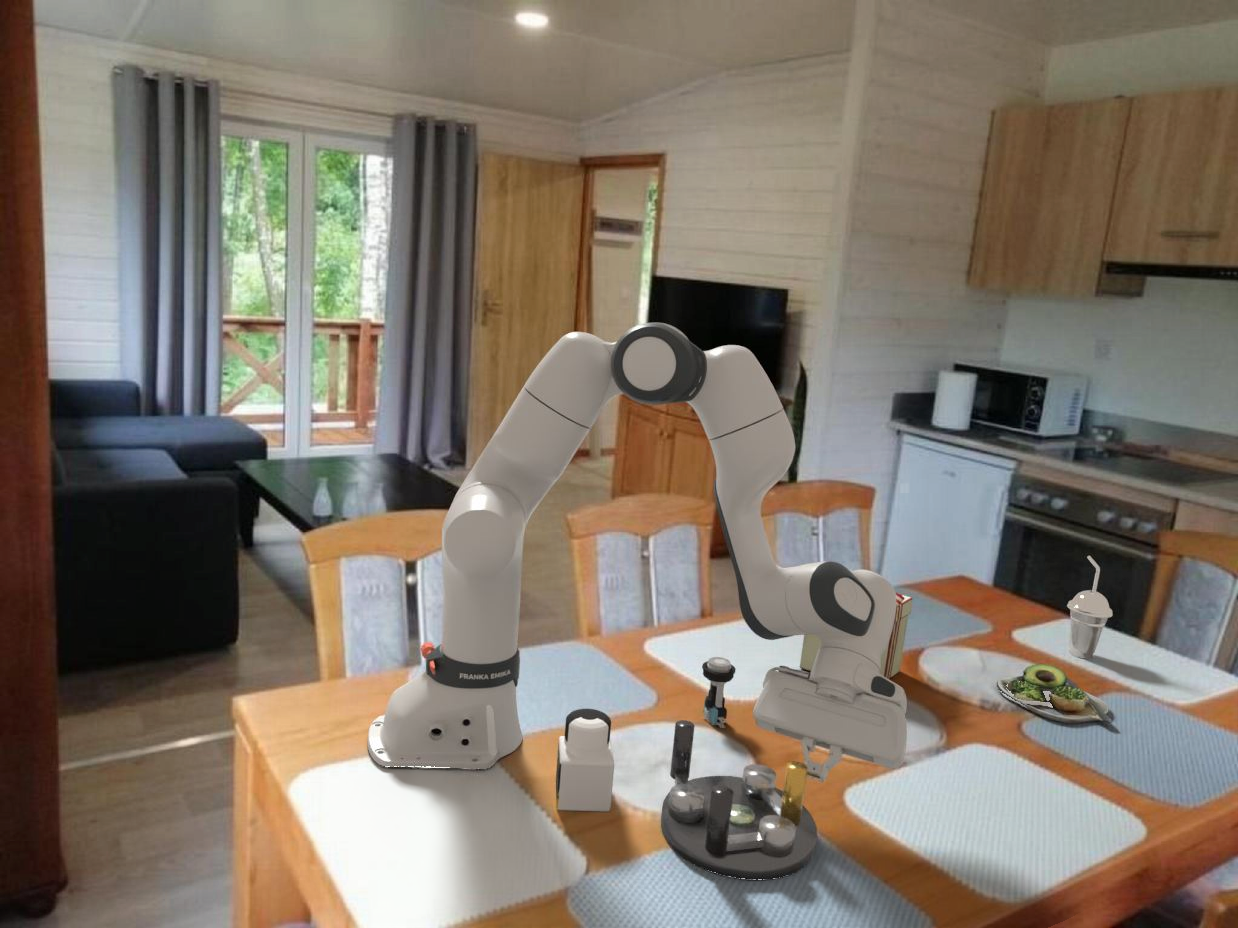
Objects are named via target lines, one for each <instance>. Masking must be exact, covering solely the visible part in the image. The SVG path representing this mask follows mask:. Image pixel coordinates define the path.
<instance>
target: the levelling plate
mask: <svg viewBox="0 0 1238 928" xmlns="http://www.w3.org/2000/svg"><path fill="white" fill-rule="evenodd" d="M742 779H743V777H739V776H732V775H708V776H703V777H702V776H701V777H697V778H691V779H688V781H689V784H690V785H694V786H696V787H698V788H700V789H701V790H702V791H703V792H704V804H703V813H702V818H701V819H700V820H699V821H697V822H693V823H684V822H680V821H677V820H675V819H673V818H672V817H671V816H670V815H669V812H668V809H669V799H670V791H668V793H667V794H666V795H665V797H664V799H663V802H662V806H661V815H660V828H661V832H662V835H663V837H664V839H665V841H666V843H667V844H668V846H669V847H671V849H672V850H673V851H674V852H675V853H676V854H677V855H679V856H680V857H681V858H683V859H684V860H686V861H688V863H690V864H692V865H694V864H695V865H694V866H695V867H697V866H698V867H697V868H699V867H702V868H704V869H706V870H709V871H712V872H716V873H718V874H721V875H725V876H731V877H736V878H740V879H739V880H741V878H745V879H756V880H755V881H759V880H758V879H762V880H761V881H764V880H763V879H772V880H774V879H773V878H778V879H782V878H784V877H783V876H786V875H789V876H791V875H793V874H792V873H794V874H796V873H798V872H799V871H801V870H803V869H804V868H805V867H806V866H807V865H808V864H809V863H810V862H811V861H812V858H813V857H814V854H815V850H816V849H815V848H816V843H817V835H818V828H817V824H816V820H815V819H814V817H813V814H812V813H810V810H808V808H807V807H806V806H804V805H803V806H802V813H801V820H800V824H799V825H798V826H795V827H796V831H795V839H794V846H793V851H792V853H791V854H790V855H788V856H784V857H776V856H771V855H768V854H766V853H764V852H763V851H762V850H761V849H760V848H751V849H743V850H734V851H726V853H724V854H722V855H714V854H711V853H709V852H708V851H707V850H706V849H705V843H706V835H707V826H708V817H709V808H710V800H711V791H712V788H713V787H714V786H718V785H722V786H726V787H729V788H730V789H732V790H733V801H732V809H731V818H730V826H729V834H728V835H737V834H746V833H755V832H759V824H760V820H761V819H762V818H763V817H765V816H768V815H777V816H779V815H778V814H777V813H776V812H775V811H774V810H773V809H772V808H771V807H770V806H769V804H768V803H767V802H766V801H765V800H755V799H751V798H749V797H747V796H746V795H744V794H743V792H742V790H741V787H742ZM774 791H775V792H776V793H777V794H778V795H779V796H780V797H781V798H783V790H782V789H779V788H777V787H775V788H774ZM702 868H701V869H702ZM704 869H703V870H704ZM706 870H705V871H706ZM709 871H708V872H709ZM712 872H711V873H712ZM721 875H720V876H721ZM725 876H724V877H725ZM779 877H780V878H779ZM781 877H782V878H781ZM786 877H787V876H786Z"/></svg>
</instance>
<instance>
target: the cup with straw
mask: <svg viewBox="0 0 1238 928" xmlns="http://www.w3.org/2000/svg"><path fill="white" fill-rule="evenodd" d="M1086 558H1087V559H1088V561H1089V562H1090V563H1091V564H1092V566H1093V567H1094V568H1095V574H1094V580H1093V586H1092V590H1091V589H1089V590H1082V591H1080V592H1078V593H1076V595H1075V596H1073V598H1072V599H1071V600H1069V601H1068V603H1067V605H1066V607H1067V608H1068V609H1069V610H1070V611H1069V612H1070V613H1069V615H1070V617H1069V618H1070V632H1069V651H1068V653H1069V654H1070V655H1072V656H1074V657H1077V658H1078V659H1086V660H1090V659H1091V660H1092V659H1093V658H1094V654H1095V652H1096V650H1097V647H1098V643H1099V641H1100V638H1101V635H1102V631H1103V629H1104V627H1105V626H1106V623H1107V621H1108V619H1109V618H1112V617H1113V614H1114V613H1113V610H1112V608H1110V605H1109V602H1108V599H1107V598H1106V597H1105V596H1104V595H1103V594H1102V593H1100V592H1098V591H1097V588H1098V583H1099V578H1100V572H1101V567H1100V566H1099V565H1098V564H1097V562H1096V561H1095V560H1094V559H1093V558H1092V556H1091V555H1088V556H1087V557H1086Z"/></svg>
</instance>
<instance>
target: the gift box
mask: <svg viewBox="0 0 1238 928" xmlns="http://www.w3.org/2000/svg"><path fill="white" fill-rule="evenodd" d="M895 593H896V614H895V620H894V625H893V629H892V633H891V637H890V641H889V644H888V647H887V649H886V650H885V651H884V653H883V655H882V658H881V671H880V674H881V675H882V676H884V677H886V678H887V679H889V680H890V679H891V678H893V677H894V676H895V675H897V674H898V673H899V672H900V670H901V664H902V659H903V651H904V646H905V638H906V631H907V627H908V620H909V615H910V614H911V612H912V608H913V599H914V598H913V597H911V596H907V595H905V594H902V593H898V592H896V591H895ZM802 641H803V642H802V648H801V654H800V660H799V662H800V663H799V667H800V669H803V670H804V671H805V670H806V671H807V672H811V670H812V667H813V664H814V661H815V658H816V655H817V652H818V649H819V647H820V646H821V639H820V638H819V637H818V636H816V635H815V634H807V635H803V640H802Z"/></svg>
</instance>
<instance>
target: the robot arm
mask: <svg viewBox="0 0 1238 928" xmlns="http://www.w3.org/2000/svg"><path fill="white" fill-rule="evenodd" d="M620 395H625V396H626V397H627V398H629V399H630V400H632V401H633V402H636V403H638V404H642V405H648V406H650V405H651V406H658V405H668V404H673V403H674V404H676V403H687V404H688V405H690V407H692V409H693V411H694V412H695V413H696V415H697V416H698V418H699V421H700V423H701V425H702V427H703V431H704V432H705V435H706V437H707V439H708V443H709V444H710V447H711V451H712V454H713V457H714V463H715V469H716V470H715V471H716V477H715V479H714V482H713V496H714V501H715V505H716V510H717V514H718V518H719V522H720V524H721V530H722V533H723V535H724V539H725V543H726V546H727V550H728V552H729V557H730V560H731V564H732V567H733V571H734V575H735V578H736V585H737V593H738V603H739V608H740V614H741V615H742V618H743V620H744V622H745V623H746V625H747V627H748V628H749V629H750V630H751V631H752V633H754V634H755V635H756V636H758V637H759V638H761V639H764V640H768V641H775V640H779V639H785V638H790V637H793V636H804V635H807V634H815V635H816V636H818V637H819V638H820V639H821V646H820V647H819V649H818V652H817V655H816V658H815V661H814V664H813V667H812V670H811V671H805V670H800V669H797V668H796V669H795V668H791V667H789V666H785V665H779V666H778V667H777V666H776V667H772V668H770V669H769V670H768V671H767V672H766V673H765V677H764V679H763V682H762V690H761V692H760V693H759V696H758V698H757V700H756V702H755V705H754V707H753V710H752V717H753V719H754V722H755V724H756V725H757V727H758V728H760V729H761V730H763V731H764V730H766V731H767V732H771V733H775V734H778V735H781V736H784V737H788V738H791V739H794V740H797V741H801V744H800V746H801V749H802V753H803V754H802V755H803V757H804V763H803V764H805V765H806V766H807V768H808V769H807V776H806V778H810V779H813V780H817V781H819V782H822V783H825V782H826V781H827V777H828V774H829V771H831V770H832V769H833V768H834V767H836V766H837V765H838V764H840V762H841V760H842V757H843V755H845V756H848V757H852V758H856V759H857V760H858V759H859V760H862V761H865V762H868V763H871V764H875V765H878V766H881V767H883V768H888V769H889V770H890V769H891V770H897V769H898V768H900V767H901V766H902V765H904V764H903V763H904V759H905V755H906V748H907V740H908V739H907V737H908V731H907V730H908V729H907V728H908V726H907V719H906V713H907V708H908V707H907V706H908V698H907V695H906V692H905V689H904V688H903V687H902V686H900V685H899V684H898V683H896V682H894V681H892V680H890V679H887V678H886V677H884V676H882V675H881V674H880V671H881V658H882V655H883V653H884V651H885V650H886V649H887V647H888V644H889V641H890V637H891V633H892V629H893V625H894V620H895V614H896V593H897V592H896V590H895V587H894V586H893V584H892V583H891V582H890V581H889V580H887V579H886V578H885V577H884V576H882V575H881V574H879V573H878V572H875V571H871V570H869V569H854V570H851V569H848V568H847V567H846V566H845V565H843V564H842V563H839V562H836V561H818V562H812V563H811V562H810V563H805V564H801V565H796V566H789V567H782V566H780V565H779V564H778V563H777V562H775V560H774V558H773V554H772V550H771V547H770V544H769V539H768V536H767V532H766V529H765V526H764V522H763V518H762V512H761V511H762V510H761V509H762V508H761V507H762V503H763V500H764V497H765V496H766V495H767V493H768V492H769V490H770V489H772V488H773V487H774V486H775V485H776V484H777V483H778V482H779V481H780V480H781V479H782V478H783V477H784V476H785V474H786V472H787V471H789V468H790V467H791V464H792V462H793V460H794V456H795V452H796V442H795V441H796V440H795V435H794V431H793V428H792V426H791V423H790V420H789V418H788V415H787V414H786V411H785V409H784V406H783V404H782V402H781V399H780V397H779V395H778V394H777V391H776V389H775V387H774V385H773V383H772V382H771V380H770V378H769V376H768V374H767V373H766V371H765V370H764V368H763V366H762V365H761V364H760V362H759V360H758V359H757V357H756V356H755V354H754V353H753V352H752V351H751V350H750V349H749V348H747V347H745V346H741V345H738V344H737V345H736V344H727V345H721V346H717V347H715V348H712V349H709V350H702V349H701V348H699V347H698V346H697V345H696V344H694V343H693V342H692V341H690V340H689V338H688V336H686V334H685V333H684V332H682V331H681V330H680V329H678V328H677V327H675V326H673V325H671V324H667V323H666V322H665V323H664V322H654V321H653V322H645V323H641V324H638V325H634V326H633V327H631V328H629V329H628V330H626V331H625V332H624V333H623V334H622V335H621V336H620V337H619V338H618V340H616V341H615V342H610V341H606V340H604V339H602V338H600V337H598V336H597V335H594V334H592V333H588V332H584V331H583V332H582V331H571V332H569V333H567V334H564V335H563V336H561V338H560V339H559V340H558V341H557V342H556V343H554V345H553V346H552V347H551V348H550V349H549V350H548V352H547V353H546V354H545V356H543V358H542V359H541V360H540V361H539V363H538V364H537V365H536V367H535V368H534V370H533V371H532V373H531V374H530V375H529V376H528V379H526V382H525V384H524V385H523V387H522V388H521V390H520V391H519V393H518V395H517V397H516V398H515V400H514V401H513V403H512V404H511V406H510V408H509V409H508V411H507V412H506V414H505V416H504V418H503V419H502V421H501V422H500V425H499V426H498V427H497V429H496V430H495V432H494V434H493V435H492V437H491V439H490V440H489V442H487V445H486V446H485V448H484V449H483V450H482V452H481V454H480V455H479V457H478V459H477V460H476V462H475V463H474V465H473V467H472V468H471V469H470V471H469V472H468V474H467V476H466V477H465V478H464V481H463V482H462V484H461V485H460V487H459V488H458V490H457V492H456V494H455V496H454V498H453V500H452V502H451V504H450V507H449V509H448V511H447V513H446V516H445V518H444V520H443V523H442V528H441V529H442V530H441V573H442V574H441V575H442V576H441V577H442V591H443V592H442V593H443V594H442V598H443V599H442V619H441V621H442V623H441V643H440V644H439V645H438V646H436V647H435V644H433V642H430V641H426V642H424V643H422V645H421V647H420V651H421V656H422V657H423V658H424V659H425V670H424V671H422V672H421V673H419V674H418V675H416V676H415V677H414V678H412V679H411V680H409V681H407V682H406V683H404V684H403V685H401V686H400V687H398V688H396V689H395V690H394V691H393V692H392V693H391V695H390V698H389V699H388V703H387V705H386V709H385V713H384V714H383V715H379V716H378V717H376V718H375V719H374V720H373V721H372V722H371V724H370V726H369V728H368V734H367V748H368V752H369V754H370V757H371V758H372V760H374V761H375V762H376V763H377V764H378V765H379V766H381V765H382V766H381V767H383V766H390V767H394V766H397V767H398V766H399V767H401V766H405V767H408V766H414V767H415V766H421V767H422V766H424V767H426V766H431V767H434V766H435V767H450V768H462V769H461V770H464V769H463V768H467V769H466V770H476V769H478V768H479V769H484V770H488V769H491V766H492V767H493V766H494V764H496V763H497V761H499V759H501V758H503V757H505V756H507V755H510V754H512V752H514V751H516V749H518V748H519V746H520V745H521V743H522V740H523V732H522V728H521V724H520V720H519V713H518V703H517V686H518V682H519V679H520V669H521V666H520V665H521V656H520V655H521V654H520V650H519V648H518V642H519V641H518V640H519V639H518V638H519V625H520V623H519V622H520V609H521V607H520V606H521V589H522V588H521V586H522V585H521V584H522V568H523V567H522V565H523V553H524V551H523V550H524V549H523V548H524V537H525V531H526V527H527V525H528V522H529V519H530V518H531V516H532V515H533V513H534V511H535V510H536V509H537V507H538V506H539V504H540V503H541V501H542V500H543V499H544V498H545V496H546V495H547V493H548V492H549V491H550V490H551V488H552V487H553V485H554V484H555V483H556V482H557V480H559V478H561V476H562V475H563V473H564V471H565V470H566V468H567V467H568V465H569V463H570V462H571V461H572V459H573V457H574V456H575V454H576V453H577V452H578V449H579V448H580V447H581V444H583V442H584V440H585V438H586V437H587V436H588V433H589V432H590V431H591V429H592V427H593V426H594V424H595V422H596V421H597V419H598V417H599V416H600V414H601V413H602V411H603V409H604V408H605V407H606V405H608V403H609V402H610V401H611V400H612V399H614V398H615V397H618V396H620ZM895 592H896V593H895ZM816 747H820V748H823V749H825V750H828V754H829V757H828V758H827V759H826V760H824V761H823V763H819V762H816V761H814V760H812V758H811V756H810V753H813V752H815V748H816ZM468 768H470V769H468ZM473 768H474V769H473ZM487 768H488V769H487Z"/></svg>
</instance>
